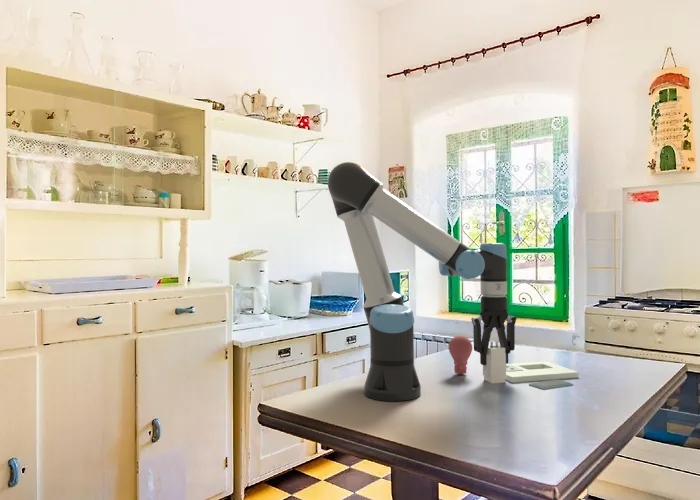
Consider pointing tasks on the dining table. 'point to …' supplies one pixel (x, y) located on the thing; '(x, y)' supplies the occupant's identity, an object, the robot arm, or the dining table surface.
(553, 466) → the dining table surface
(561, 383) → the phone
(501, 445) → the dining table surface
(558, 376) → the outlet plate
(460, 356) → the light bulb
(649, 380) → the dining table surface
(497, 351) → the charger
